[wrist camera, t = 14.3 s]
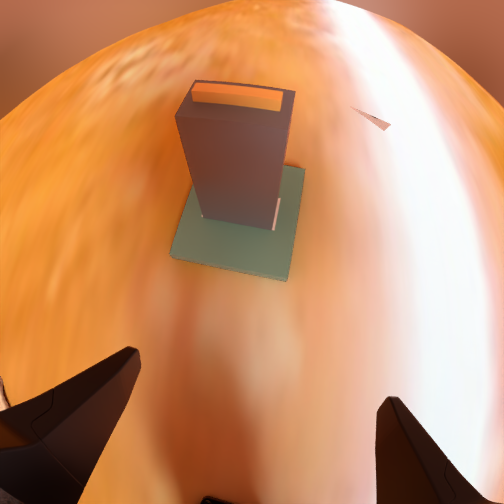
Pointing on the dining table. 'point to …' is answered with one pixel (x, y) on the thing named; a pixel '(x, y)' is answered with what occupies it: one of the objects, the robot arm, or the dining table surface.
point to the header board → (243, 235)
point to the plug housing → (236, 148)
